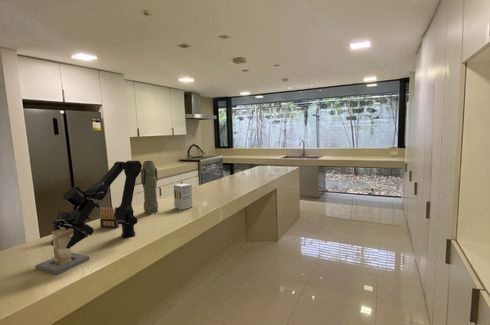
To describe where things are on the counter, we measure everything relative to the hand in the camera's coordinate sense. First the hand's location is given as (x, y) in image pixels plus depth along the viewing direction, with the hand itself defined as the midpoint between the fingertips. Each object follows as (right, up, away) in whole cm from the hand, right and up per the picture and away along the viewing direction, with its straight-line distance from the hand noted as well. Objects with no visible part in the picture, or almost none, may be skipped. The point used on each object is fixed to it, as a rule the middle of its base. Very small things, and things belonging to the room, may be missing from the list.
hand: (59, 246), depth 108 cm
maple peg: (+1, -8, +2) cm, 8 cm away
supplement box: (+30, +1, +86) cm, 91 cm away
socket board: (+1, -8, +2) cm, 8 cm away
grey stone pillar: (+10, 0, +76) cm, 77 cm away
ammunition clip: (-3, -4, +46) cm, 47 cm away
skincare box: (-17, -5, +33) cm, 38 cm away
